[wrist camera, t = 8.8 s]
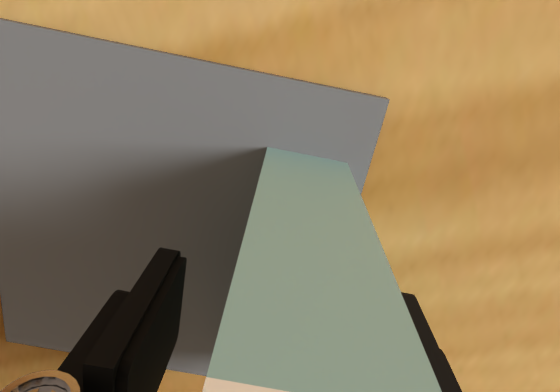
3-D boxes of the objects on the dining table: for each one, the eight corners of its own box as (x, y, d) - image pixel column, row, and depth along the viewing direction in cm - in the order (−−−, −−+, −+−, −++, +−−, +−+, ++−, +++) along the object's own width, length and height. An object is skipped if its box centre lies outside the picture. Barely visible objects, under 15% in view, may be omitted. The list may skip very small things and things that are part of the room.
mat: (386, 98, 11) (389, 99, 11) (300, 384, 16) (300, 392, 15) (-24, 13, 11) (-36, 12, 10) (13, 333, 15) (6, 341, 15)
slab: (347, 163, 11) (492, 514, 3) (293, 355, 15) (290, 794, 6) (267, 147, 11) (183, 464, 3) (230, 343, 14) (137, 774, 6)
